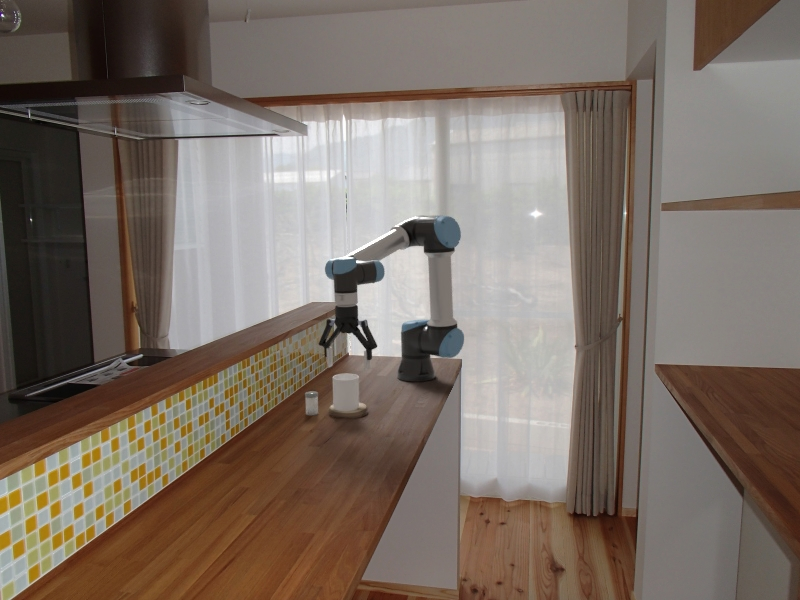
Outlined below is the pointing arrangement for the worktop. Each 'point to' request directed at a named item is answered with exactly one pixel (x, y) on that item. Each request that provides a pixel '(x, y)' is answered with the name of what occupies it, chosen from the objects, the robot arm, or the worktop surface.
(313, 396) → the spice jar
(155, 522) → the worktop surface
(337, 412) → the beige flat disc
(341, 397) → the mug
